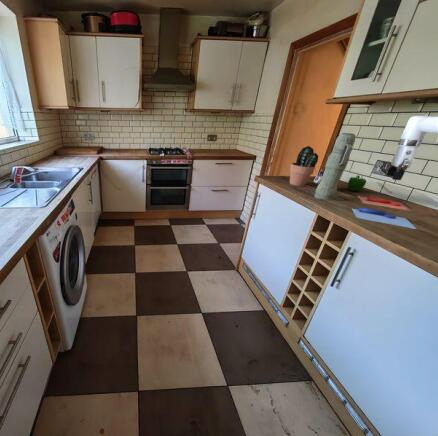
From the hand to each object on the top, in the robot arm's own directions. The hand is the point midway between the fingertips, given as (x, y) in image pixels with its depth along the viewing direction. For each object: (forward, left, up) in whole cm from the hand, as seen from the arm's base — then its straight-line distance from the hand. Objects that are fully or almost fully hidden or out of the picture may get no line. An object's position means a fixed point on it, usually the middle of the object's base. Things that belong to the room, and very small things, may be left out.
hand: (393, 177), depth 118 cm
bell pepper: (+9, -21, -15) cm, 27 cm away
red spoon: (-1, 0, -14) cm, 14 cm away
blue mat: (+6, +27, -15) cm, 32 cm away
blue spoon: (+7, +23, -14) cm, 28 cm away
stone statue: (+27, +9, -15) cm, 32 cm away
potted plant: (+40, -15, -15) cm, 45 cm away
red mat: (-1, 0, -15) cm, 15 cm away
